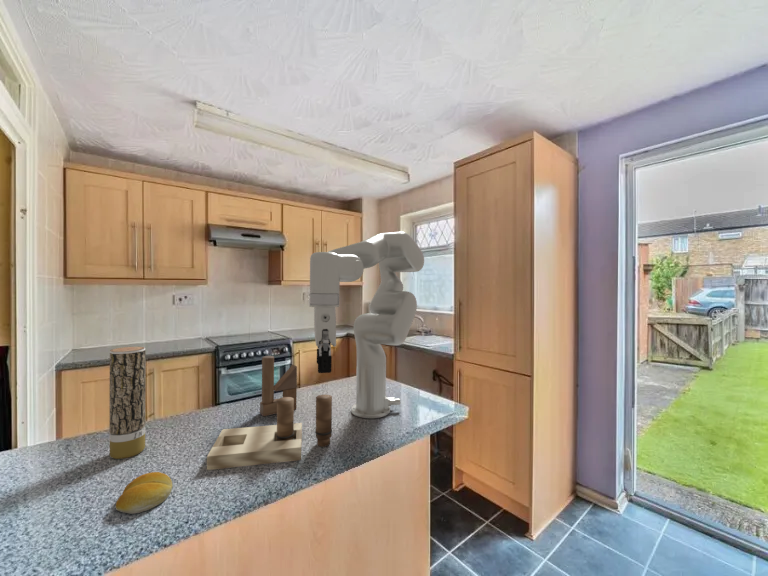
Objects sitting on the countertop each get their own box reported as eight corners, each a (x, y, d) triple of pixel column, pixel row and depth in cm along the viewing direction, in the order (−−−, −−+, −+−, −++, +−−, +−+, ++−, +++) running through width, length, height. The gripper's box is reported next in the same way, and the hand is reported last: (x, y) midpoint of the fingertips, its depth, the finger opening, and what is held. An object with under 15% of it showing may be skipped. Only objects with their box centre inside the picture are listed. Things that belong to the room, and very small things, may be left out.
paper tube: (105, 463, 75) (106, 352, 75) (113, 449, 81) (113, 347, 81) (142, 456, 78) (142, 350, 78) (147, 444, 84) (147, 345, 84)
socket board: (301, 433, 91) (301, 422, 91) (301, 460, 77) (301, 447, 77) (222, 440, 86) (222, 429, 86) (206, 470, 73) (206, 456, 73)
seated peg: (294, 442, 86) (294, 396, 86) (293, 450, 82) (293, 401, 81) (277, 444, 85) (277, 397, 85) (275, 452, 81) (275, 403, 80)
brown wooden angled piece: (296, 409, 108) (297, 354, 108) (263, 417, 102) (263, 358, 102) (292, 406, 111) (293, 352, 111) (259, 413, 105) (260, 356, 105)
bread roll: (109, 521, 57) (109, 498, 57) (128, 490, 66) (128, 470, 66) (165, 510, 60) (165, 488, 60) (177, 482, 68) (177, 463, 68)
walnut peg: (331, 439, 88) (331, 393, 88) (332, 446, 84) (332, 399, 84) (315, 440, 87) (315, 394, 87) (315, 448, 83) (315, 400, 83)
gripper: (342, 302, 77) (341, 376, 77) (336, 299, 94) (335, 360, 94) (309, 302, 76) (308, 377, 76) (309, 299, 92) (308, 361, 92)
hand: (323, 367), depth 85 cm, fingers open, 9 cm apart
